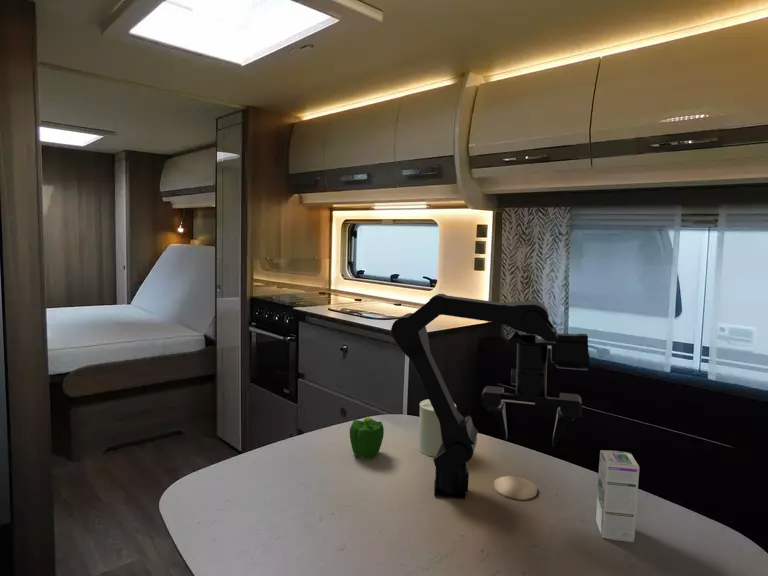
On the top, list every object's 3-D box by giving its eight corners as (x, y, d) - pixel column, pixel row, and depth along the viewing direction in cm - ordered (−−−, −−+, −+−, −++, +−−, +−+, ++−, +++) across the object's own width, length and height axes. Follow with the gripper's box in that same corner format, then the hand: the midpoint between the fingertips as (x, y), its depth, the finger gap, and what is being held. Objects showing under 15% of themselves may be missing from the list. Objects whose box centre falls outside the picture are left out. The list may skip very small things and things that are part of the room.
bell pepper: (352, 445, 127) (353, 407, 126) (384, 448, 126) (385, 410, 125) (345, 460, 119) (346, 420, 117) (379, 463, 118) (381, 422, 116)
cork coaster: (496, 498, 104) (496, 495, 104) (491, 476, 113) (491, 474, 113) (540, 501, 103) (541, 499, 103) (532, 480, 112) (533, 477, 112)
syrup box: (635, 543, 90) (642, 466, 88) (600, 538, 91) (606, 462, 89) (626, 525, 95) (633, 452, 94) (593, 520, 97) (599, 448, 95)
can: (414, 441, 130) (416, 396, 129) (449, 440, 131) (451, 396, 130) (421, 457, 121) (423, 409, 120) (458, 456, 122) (460, 409, 121)
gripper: (580, 359, 103) (577, 433, 105) (488, 353, 109) (487, 422, 111) (583, 374, 93) (580, 455, 94) (481, 365, 99) (479, 442, 100)
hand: (529, 442), depth 100 cm, fingers open, 9 cm apart
